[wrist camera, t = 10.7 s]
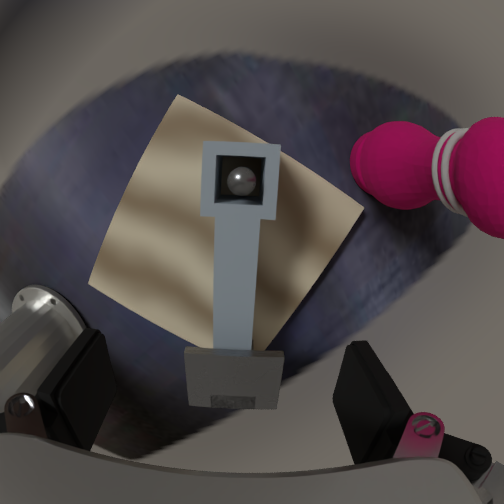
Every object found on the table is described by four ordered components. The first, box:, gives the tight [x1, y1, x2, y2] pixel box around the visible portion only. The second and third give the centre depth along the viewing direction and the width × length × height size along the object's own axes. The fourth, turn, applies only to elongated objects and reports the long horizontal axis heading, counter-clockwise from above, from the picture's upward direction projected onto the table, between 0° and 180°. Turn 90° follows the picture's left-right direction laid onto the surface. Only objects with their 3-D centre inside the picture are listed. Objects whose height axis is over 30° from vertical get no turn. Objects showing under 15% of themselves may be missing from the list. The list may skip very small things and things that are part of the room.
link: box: [200, 141, 281, 350], centre depth 23 cm, size 16×5×6 cm, turn 177°
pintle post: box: [227, 166, 256, 196], centre depth 22 cm, size 2×2×8 cm
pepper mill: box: [350, 117, 504, 239], centre depth 16 cm, size 7×7×20 cm
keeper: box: [184, 340, 284, 409], centre depth 25 cm, size 6×7×9 cm
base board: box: [88, 95, 364, 351], centre depth 27 cm, size 20×19×1 cm
